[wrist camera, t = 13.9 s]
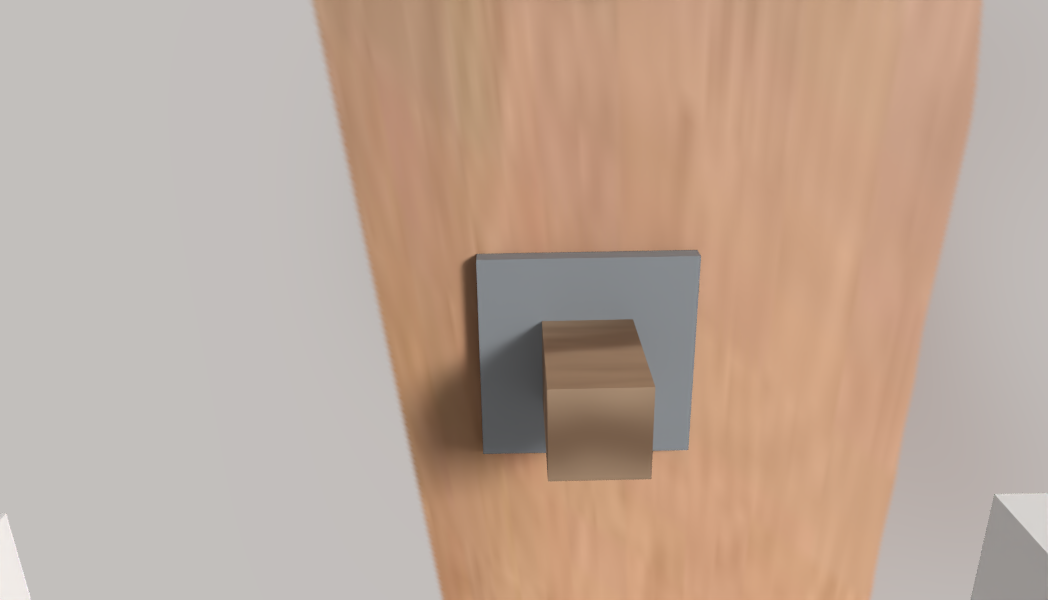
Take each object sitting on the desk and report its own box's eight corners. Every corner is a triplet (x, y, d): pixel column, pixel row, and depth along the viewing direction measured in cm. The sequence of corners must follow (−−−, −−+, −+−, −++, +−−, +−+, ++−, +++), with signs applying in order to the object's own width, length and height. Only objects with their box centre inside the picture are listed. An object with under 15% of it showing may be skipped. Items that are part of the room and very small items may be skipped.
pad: (476, 254, 46) (476, 260, 46) (697, 250, 47) (700, 255, 46) (483, 444, 51) (483, 453, 50) (684, 440, 51) (688, 449, 50)
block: (542, 321, 47) (547, 389, 39) (632, 319, 47) (655, 387, 40) (542, 401, 49) (548, 481, 41) (630, 399, 49) (651, 479, 41)
